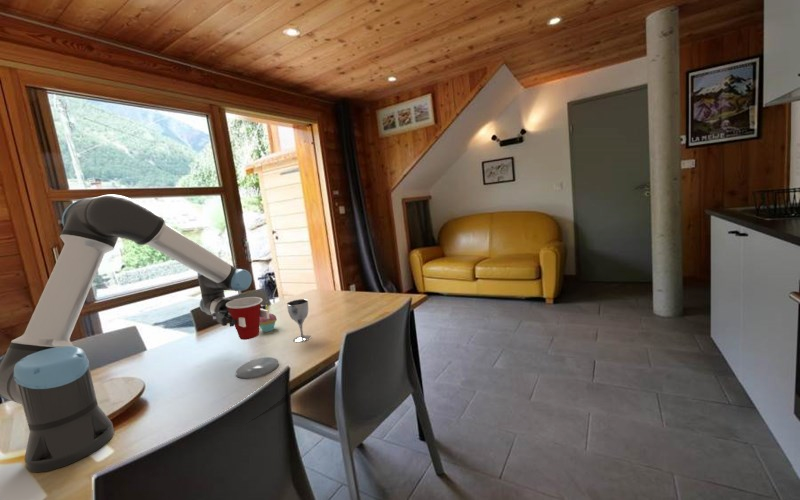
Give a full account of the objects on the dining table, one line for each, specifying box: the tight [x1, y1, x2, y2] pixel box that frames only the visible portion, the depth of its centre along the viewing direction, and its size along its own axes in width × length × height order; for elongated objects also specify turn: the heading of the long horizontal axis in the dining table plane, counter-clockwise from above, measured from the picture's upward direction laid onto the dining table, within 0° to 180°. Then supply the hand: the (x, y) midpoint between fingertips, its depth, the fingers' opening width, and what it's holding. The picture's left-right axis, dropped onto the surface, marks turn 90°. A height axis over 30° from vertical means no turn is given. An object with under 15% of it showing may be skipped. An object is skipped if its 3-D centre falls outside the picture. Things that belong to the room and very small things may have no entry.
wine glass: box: [286, 298, 312, 343], centre depth 136 cm, size 8×8×15 cm
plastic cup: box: [226, 296, 263, 341], centre depth 111 cm, size 11×11×12 cm
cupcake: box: [259, 303, 277, 333], centre depth 151 cm, size 9×8×12 cm
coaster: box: [235, 357, 279, 380], centre depth 114 cm, size 13×13×1 cm
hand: (256, 318), depth 108 cm, fingers closed on plastic cup, 7 cm apart
